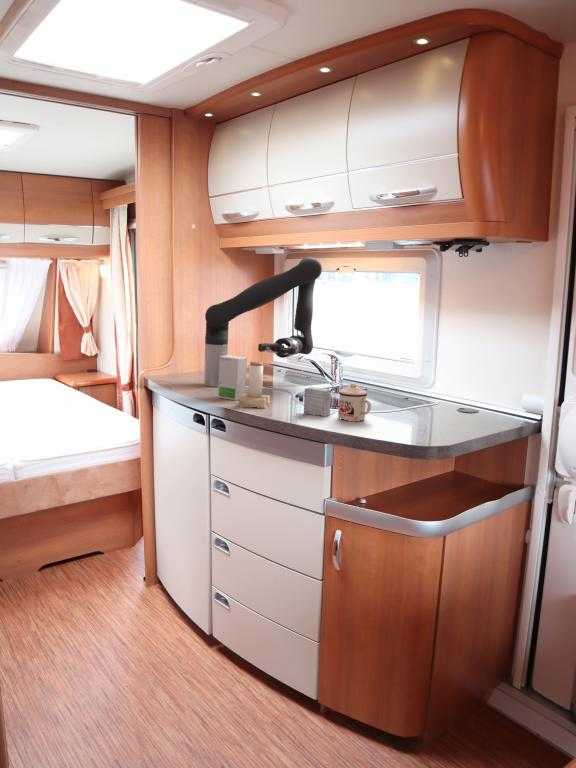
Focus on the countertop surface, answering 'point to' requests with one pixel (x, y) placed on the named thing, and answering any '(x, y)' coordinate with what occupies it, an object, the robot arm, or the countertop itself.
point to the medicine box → (317, 401)
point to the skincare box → (232, 377)
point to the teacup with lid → (353, 403)
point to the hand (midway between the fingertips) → (270, 350)
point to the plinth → (254, 401)
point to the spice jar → (255, 379)
